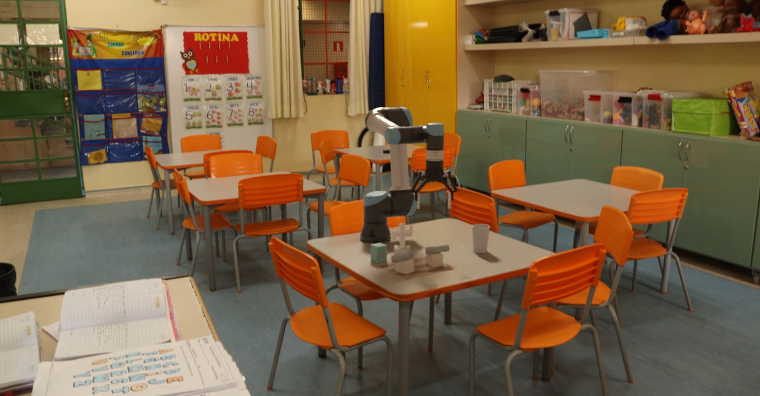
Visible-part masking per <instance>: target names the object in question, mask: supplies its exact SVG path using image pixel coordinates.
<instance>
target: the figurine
mask: <svg viewBox="0 0 760 396" xmlns="http://www.w3.org/2000/svg"><path fill="white" fill-rule="evenodd" d="M406 224H407V223H405V222H399V224H398V225H399V226H398V227H399V229H393V230H392V232H391V242H392V243H395V242H396V237H399V244H394V246H393V251H394V253H395V255H397V254H400V253H404V252H407V251H411V245H409V244H406V237H412V236H413V234H414V233H413V232H414V225H413V224H412V223H411V224H409V227H408V228H409V229H408V230H407V229H406Z"/></svg>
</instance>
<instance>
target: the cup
mask: <svg viewBox="0 0 760 396" xmlns="http://www.w3.org/2000/svg"><path fill="white" fill-rule="evenodd" d="M471 228H472V231H471V232H472V246H473V247H472V248H473V249H472V252H473V253H477V254H485V253H486V254H487V253H488V243H489V238H490V237H489V235H490V228H491V226H490V225H488V224H484V223H476V224H472V225H471Z"/></svg>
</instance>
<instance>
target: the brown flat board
mask: <svg viewBox="0 0 760 396" xmlns="http://www.w3.org/2000/svg"><path fill="white" fill-rule="evenodd" d="M410 259H413V260H414V272H411V273H408V274H403V273H400V272H397V271H395V263H393V262H392V261H389V262H385V263H380V264H377V265H375V266H376V267H379V268H381V269H383V270H386V271H388V272H389V273H393V274H395V275H396V276H400V277H401V278H403V279H406V280H411V279H414V278H418V277H422V276H427V275H431V274H432V275H433V274H435V273H439V272H443V271H448V270H452V269H456V268H457V266H454V265H453V264H452V265H451V264H449V263H446V262H444V261H443V266H437V267H431V266H430V265H428V264H426V254H422V255H418V256H413V257H412V258H410Z"/></svg>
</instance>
